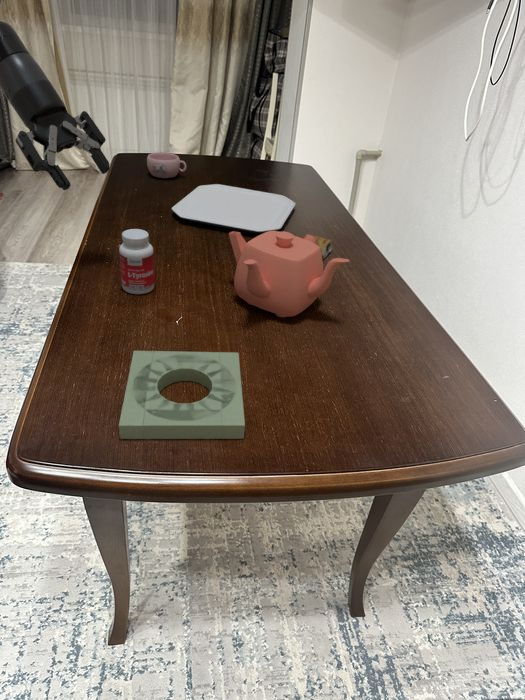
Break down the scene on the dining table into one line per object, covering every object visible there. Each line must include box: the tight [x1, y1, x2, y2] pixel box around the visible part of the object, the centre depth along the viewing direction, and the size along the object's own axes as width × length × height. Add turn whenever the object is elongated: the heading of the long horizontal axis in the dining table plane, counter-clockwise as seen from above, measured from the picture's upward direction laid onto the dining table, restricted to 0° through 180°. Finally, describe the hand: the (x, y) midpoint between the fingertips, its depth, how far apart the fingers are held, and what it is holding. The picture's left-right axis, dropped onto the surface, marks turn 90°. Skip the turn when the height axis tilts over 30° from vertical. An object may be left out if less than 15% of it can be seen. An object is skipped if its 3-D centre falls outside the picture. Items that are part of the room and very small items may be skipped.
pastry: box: [299, 235, 333, 260], centre depth 115 cm, size 9×7×4 cm
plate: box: [171, 183, 296, 234], centre depth 131 cm, size 29×29×2 cm
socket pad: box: [118, 350, 246, 440], centre depth 70 cm, size 16×16×2 cm
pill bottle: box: [118, 228, 155, 295], centre depth 92 cm, size 6×6×11 cm
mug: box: [146, 151, 187, 179], centre depth 150 cm, size 12×10×6 cm
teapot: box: [228, 230, 350, 318], centre depth 91 cm, size 18×18×14 cm
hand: (87, 179), depth 86 cm, fingers open, 8 cm apart
